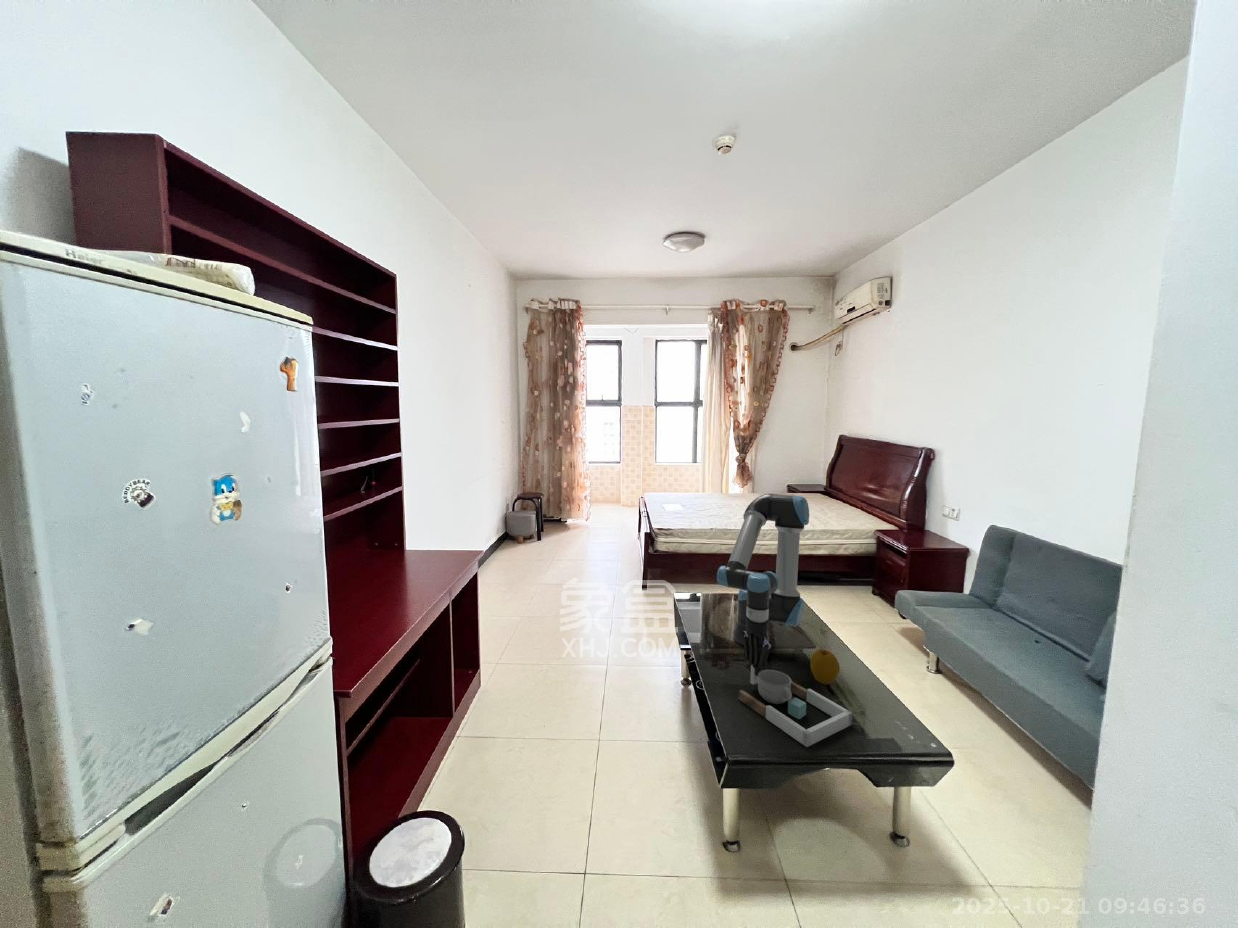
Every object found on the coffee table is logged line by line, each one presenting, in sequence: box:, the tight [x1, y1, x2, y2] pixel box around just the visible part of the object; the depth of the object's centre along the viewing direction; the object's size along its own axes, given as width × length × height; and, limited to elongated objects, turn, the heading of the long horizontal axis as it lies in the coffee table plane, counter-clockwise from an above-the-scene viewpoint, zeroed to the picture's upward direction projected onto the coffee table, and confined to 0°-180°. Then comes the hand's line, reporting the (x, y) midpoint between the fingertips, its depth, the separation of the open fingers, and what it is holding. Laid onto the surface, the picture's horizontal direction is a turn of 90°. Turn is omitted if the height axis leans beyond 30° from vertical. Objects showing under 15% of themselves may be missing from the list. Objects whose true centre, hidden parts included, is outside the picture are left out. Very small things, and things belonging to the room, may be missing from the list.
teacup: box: [757, 669, 793, 705], centre depth 157 cm, size 14×11×8 cm
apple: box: [810, 648, 841, 685], centre depth 170 cm, size 10×10×12 cm
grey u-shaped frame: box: [765, 688, 853, 748], centre depth 147 cm, size 16×21×4 cm
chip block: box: [787, 696, 807, 720], centre depth 150 cm, size 4×4×4 cm
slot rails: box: [738, 680, 807, 719], centre depth 158 cm, size 12×21×3 cm, turn 120°
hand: (754, 682), depth 166 cm, fingers closed
